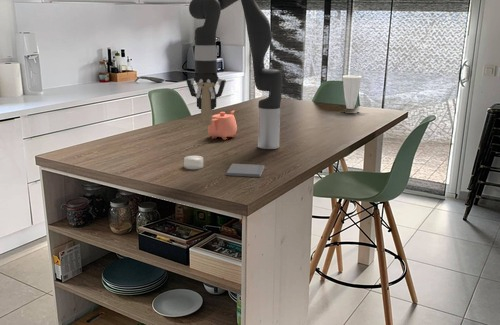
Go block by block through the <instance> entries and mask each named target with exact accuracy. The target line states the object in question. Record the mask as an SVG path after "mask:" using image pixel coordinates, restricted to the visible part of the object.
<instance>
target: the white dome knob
mask: <svg viewBox="0 0 500 325" xmlns="http://www.w3.org/2000/svg"><path fill="white" fill-rule="evenodd" d="M183 161H184V163H183V164H184V165H183V167H184V169H187V170H200V169H203V168H204V157H203V156H200V155H187V156H185V157H184V160H183Z"/></svg>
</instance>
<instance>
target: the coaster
mask: <svg viewBox="0 0 500 325" xmlns="http://www.w3.org/2000/svg"><path fill="white" fill-rule="evenodd" d="M264 169H265V164H262V165H261V164H247V163H232V164H231V165H230V166H229V168H228V170H227V171H226V172H225V174H226V176H228V177H229V176H233V177H249V178H250V177H251V178H252V177H253V178H254V177H255V178H261V177H262V174H263V172H264Z"/></svg>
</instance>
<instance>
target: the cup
mask: <svg viewBox="0 0 500 325" xmlns="http://www.w3.org/2000/svg"><path fill="white" fill-rule="evenodd" d="M362 78H363V77H362V75H356V74H355V75H353V74H351V75H350V74H347V75H343V76H342V84H343V95H344V102H345V107H346V110H354V109H355V107H356V104H357V100H358V96H359V92H360V88H361V81H362Z"/></svg>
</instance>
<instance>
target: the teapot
mask: <svg viewBox="0 0 500 325" xmlns="http://www.w3.org/2000/svg"><path fill="white" fill-rule="evenodd" d="M235 111H236V110H232V111H230V113H228V114H227V113H226V112H225V111H220V112H219V113H216V114H212V120H211V121H212V124H211V125H209V126H208V125H207V133H208V136H211V139H217V137H218V138H221V140H222V139H223V140H224V141H227V140H228V138H230V137H232V138H234V135H236V133H237V131H238V126H237V122H236V118H235V115H234V114H235ZM226 139H227V140H226ZM223 140H222V141H223Z"/></svg>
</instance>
